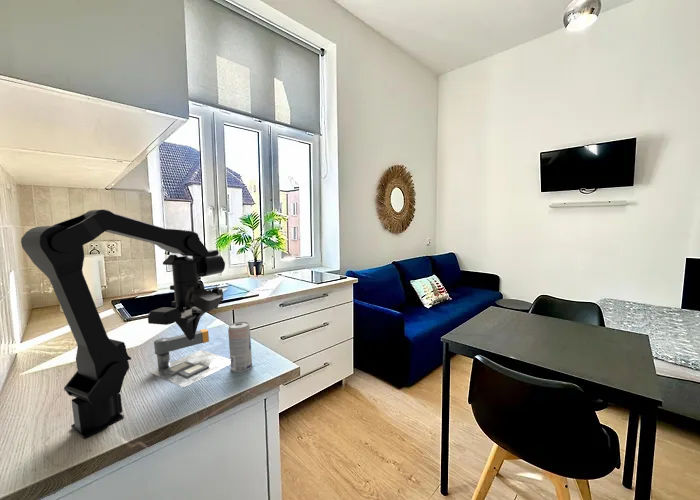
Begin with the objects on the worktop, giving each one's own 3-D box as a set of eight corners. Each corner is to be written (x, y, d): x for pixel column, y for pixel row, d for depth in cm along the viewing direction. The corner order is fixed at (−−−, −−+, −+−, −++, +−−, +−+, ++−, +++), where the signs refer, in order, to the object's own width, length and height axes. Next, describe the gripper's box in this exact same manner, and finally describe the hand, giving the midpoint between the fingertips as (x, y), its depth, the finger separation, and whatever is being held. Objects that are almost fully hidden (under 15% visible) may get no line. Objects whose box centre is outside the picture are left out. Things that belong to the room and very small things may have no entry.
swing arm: (156, 356, 79) (155, 344, 79) (154, 352, 82) (152, 340, 82) (209, 342, 88) (208, 331, 87) (206, 338, 91) (205, 327, 90)
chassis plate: (183, 389, 72) (182, 371, 71) (147, 372, 80) (146, 356, 80) (236, 362, 84) (235, 347, 84) (200, 351, 93) (199, 337, 92)
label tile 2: (172, 375, 77) (172, 373, 77) (163, 372, 79) (163, 370, 79) (194, 365, 82) (194, 363, 82) (186, 362, 84) (186, 360, 84)
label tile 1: (187, 378, 76) (187, 375, 76) (178, 374, 78) (178, 372, 78) (209, 367, 81) (208, 365, 81) (199, 364, 83) (199, 362, 83)
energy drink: (251, 362, 85) (248, 320, 83) (252, 370, 80) (250, 326, 78) (231, 365, 83) (228, 323, 81) (231, 375, 78) (227, 329, 76)
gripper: (182, 289, 66) (188, 358, 68) (236, 274, 84) (240, 329, 85) (143, 288, 69) (149, 353, 71) (203, 273, 87) (207, 326, 88)
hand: (191, 339), depth 79 cm, fingers closed
